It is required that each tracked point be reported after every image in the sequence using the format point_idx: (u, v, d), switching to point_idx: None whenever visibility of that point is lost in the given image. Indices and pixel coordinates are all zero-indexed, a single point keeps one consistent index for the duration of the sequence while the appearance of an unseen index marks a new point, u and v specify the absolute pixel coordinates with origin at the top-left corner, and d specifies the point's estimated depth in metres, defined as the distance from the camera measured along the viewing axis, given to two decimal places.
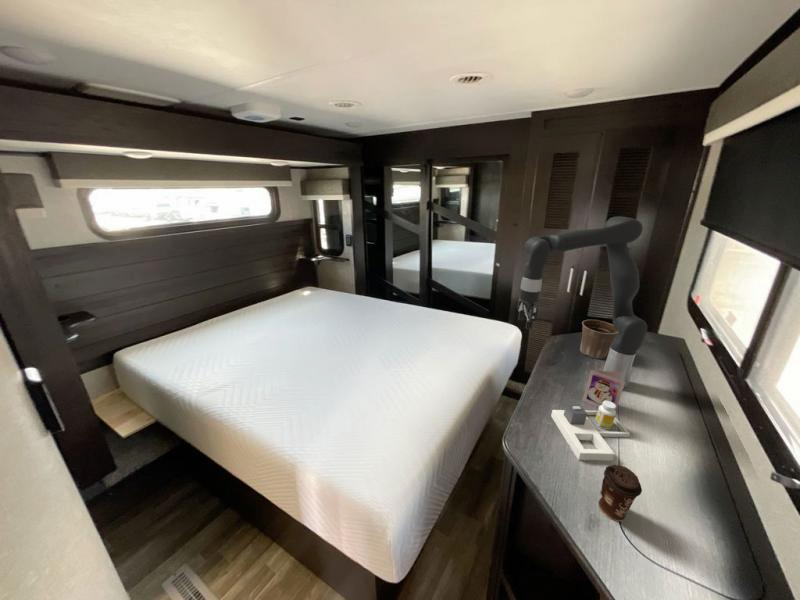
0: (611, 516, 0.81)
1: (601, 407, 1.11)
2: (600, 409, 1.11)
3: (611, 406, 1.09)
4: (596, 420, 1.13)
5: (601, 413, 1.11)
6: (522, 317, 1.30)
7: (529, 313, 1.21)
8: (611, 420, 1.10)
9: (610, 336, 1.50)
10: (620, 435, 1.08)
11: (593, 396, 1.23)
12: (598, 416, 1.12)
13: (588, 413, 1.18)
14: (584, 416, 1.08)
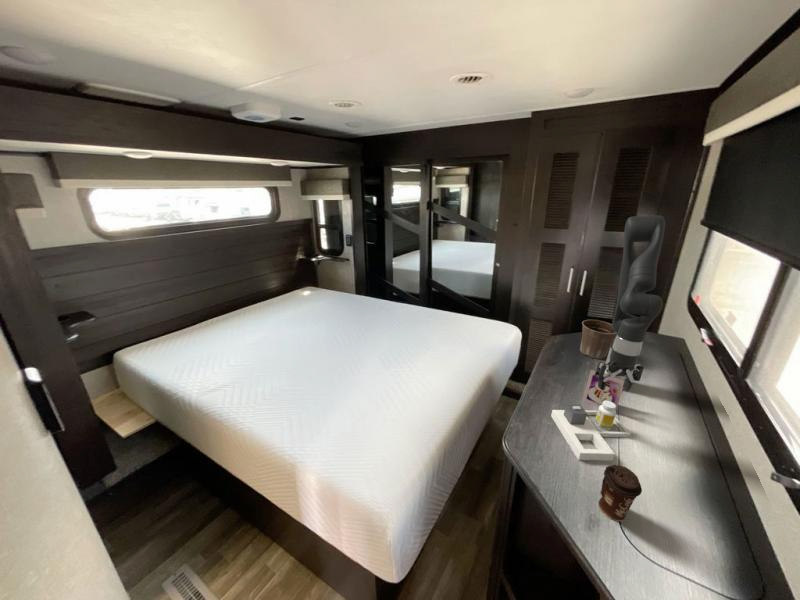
0: (611, 516, 0.81)
1: (601, 407, 1.11)
2: (600, 409, 1.11)
3: (611, 406, 1.09)
4: (596, 420, 1.13)
5: (601, 413, 1.11)
6: None
7: None
8: (611, 420, 1.10)
9: (610, 336, 1.50)
10: (620, 435, 1.08)
11: (593, 396, 1.23)
12: (598, 416, 1.12)
13: (588, 413, 1.18)
14: (584, 416, 1.08)
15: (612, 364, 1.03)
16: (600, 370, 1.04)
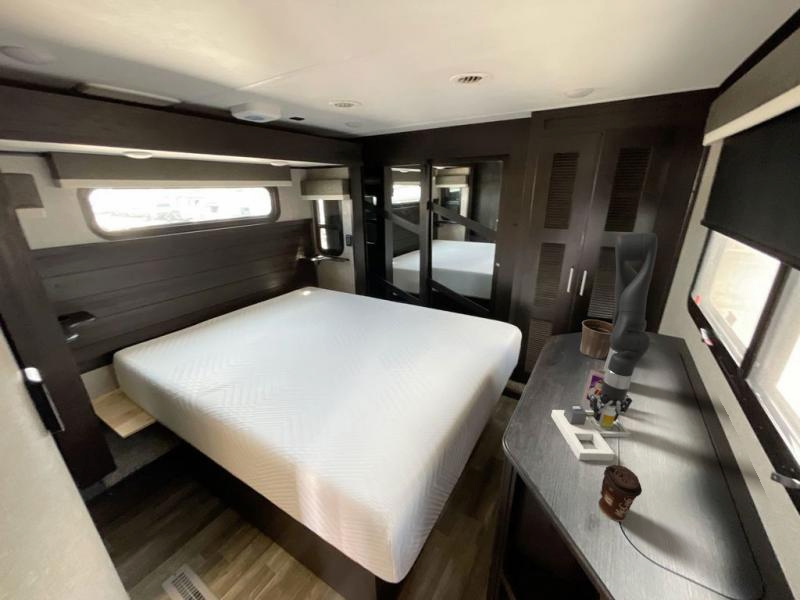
0: (611, 516, 0.81)
1: None
2: None
3: (611, 406, 1.09)
4: None
5: (601, 413, 1.10)
6: None
7: None
8: (611, 420, 1.09)
9: None
10: (620, 435, 1.08)
11: None
12: None
13: (588, 413, 1.18)
14: (584, 416, 1.08)
15: (603, 395, 1.08)
16: (593, 403, 1.09)
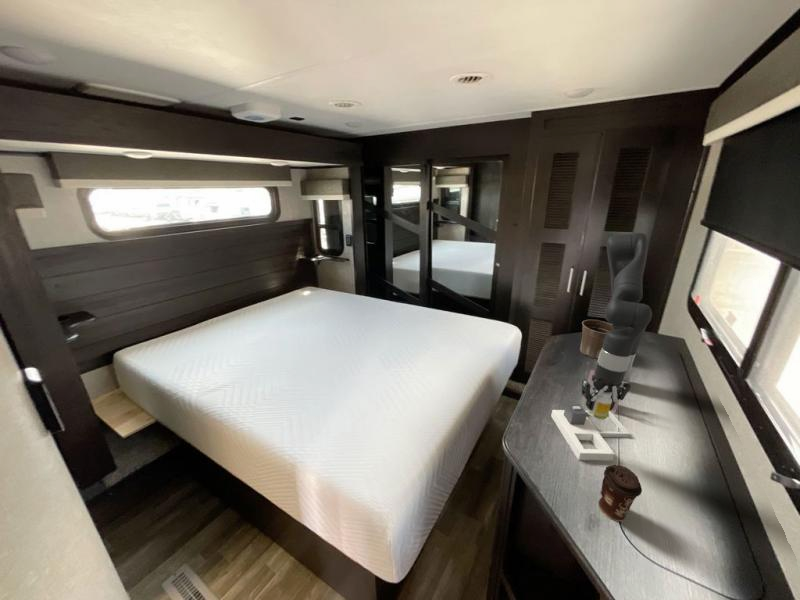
0: (611, 516, 0.81)
1: None
2: None
3: (606, 393, 0.94)
4: None
5: (595, 401, 0.95)
6: None
7: None
8: (606, 409, 0.94)
9: None
10: (620, 435, 1.08)
11: None
12: None
13: (588, 413, 1.18)
14: (584, 416, 1.08)
15: (597, 380, 0.93)
16: (585, 389, 0.94)
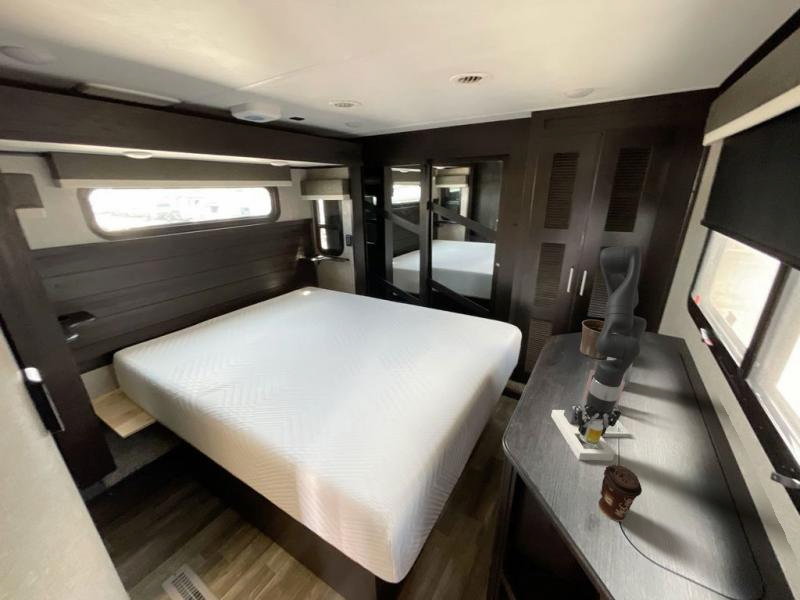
0: (611, 516, 0.81)
1: None
2: None
3: (598, 419, 0.98)
4: None
5: (587, 427, 0.99)
6: None
7: None
8: (598, 435, 0.98)
9: None
10: (620, 435, 1.08)
11: None
12: None
13: None
14: None
15: (589, 408, 0.96)
16: (577, 416, 0.98)
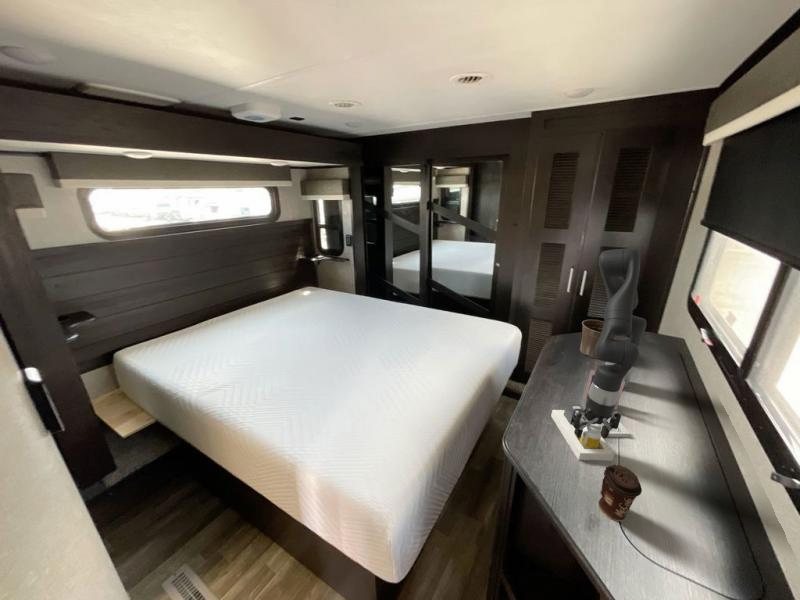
0: (611, 516, 0.81)
1: (585, 429, 1.01)
2: (584, 431, 1.01)
3: (596, 428, 0.99)
4: None
5: (585, 436, 1.01)
6: None
7: None
8: (596, 443, 1.00)
9: None
10: (620, 435, 1.08)
11: None
12: (582, 439, 1.02)
13: None
14: None
15: (588, 412, 0.97)
16: (575, 418, 0.98)
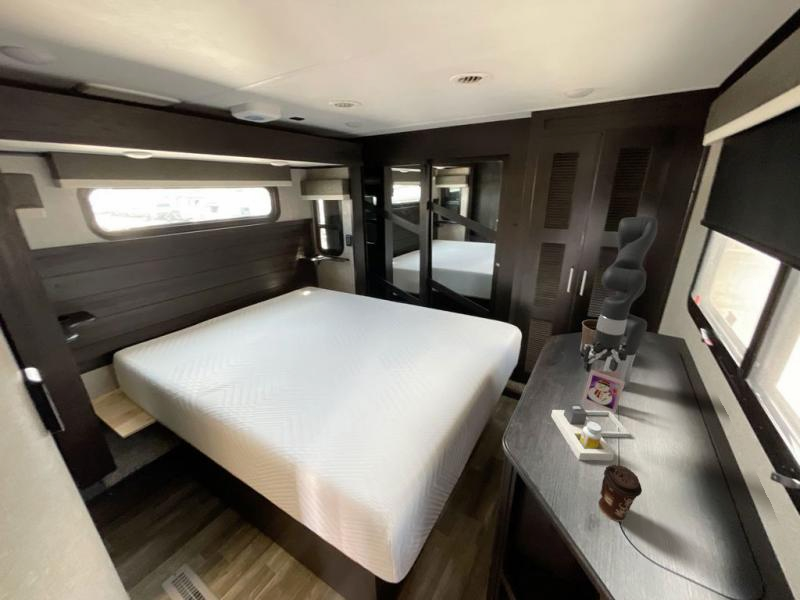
0: (611, 516, 0.81)
1: (585, 429, 1.01)
2: (584, 431, 1.01)
3: (596, 428, 0.99)
4: None
5: (585, 436, 1.00)
6: None
7: None
8: (596, 444, 0.99)
9: None
10: (620, 435, 1.08)
11: (593, 396, 1.23)
12: (582, 439, 1.02)
13: (588, 413, 1.18)
14: (584, 416, 1.08)
15: (597, 345, 0.99)
16: (585, 351, 1.00)
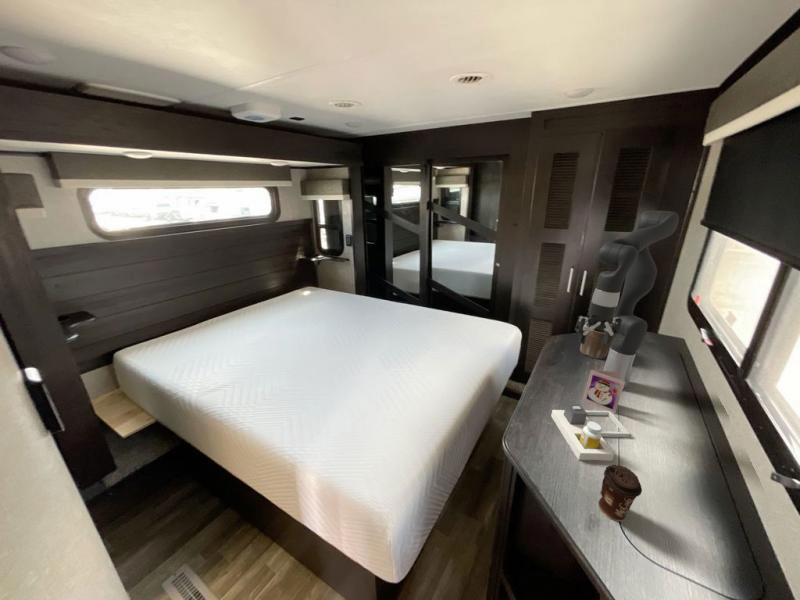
0: (611, 516, 0.81)
1: (585, 429, 1.01)
2: (584, 431, 1.01)
3: (596, 428, 0.99)
4: None
5: (585, 435, 1.01)
6: None
7: None
8: (596, 443, 1.00)
9: None
10: (620, 435, 1.08)
11: (593, 396, 1.23)
12: (582, 439, 1.02)
13: (588, 413, 1.18)
14: (584, 416, 1.08)
15: (591, 317, 1.06)
16: (580, 323, 1.07)
